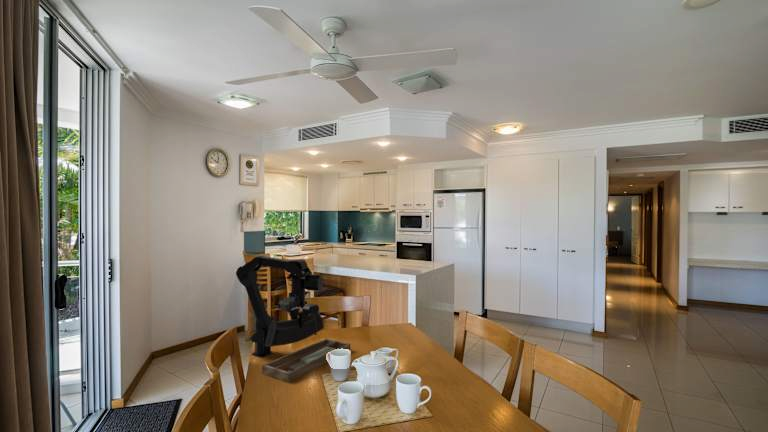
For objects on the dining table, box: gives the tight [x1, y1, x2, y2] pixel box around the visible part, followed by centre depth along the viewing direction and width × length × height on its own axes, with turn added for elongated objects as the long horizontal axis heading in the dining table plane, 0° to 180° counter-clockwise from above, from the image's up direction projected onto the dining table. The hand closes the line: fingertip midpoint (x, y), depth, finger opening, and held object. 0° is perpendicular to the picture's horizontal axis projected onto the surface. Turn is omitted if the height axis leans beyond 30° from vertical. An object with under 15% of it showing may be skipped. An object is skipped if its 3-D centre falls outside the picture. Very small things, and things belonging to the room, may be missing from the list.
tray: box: [261, 337, 351, 383], centre depth 148 cm, size 14×36×3 cm, turn 148°
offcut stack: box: [287, 347, 336, 372], centre depth 146 cm, size 6×26×4 cm, turn 149°
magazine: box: [265, 310, 324, 348], centre depth 150 cm, size 17×3×30 cm
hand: (297, 326), depth 151 cm, fingers closed on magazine, 3 cm apart
